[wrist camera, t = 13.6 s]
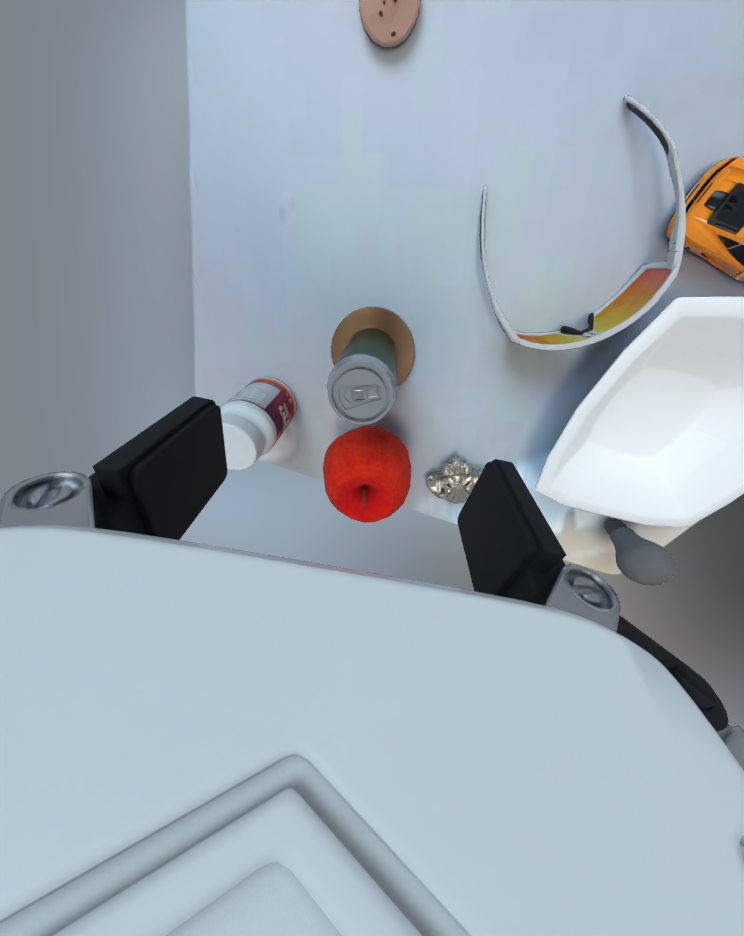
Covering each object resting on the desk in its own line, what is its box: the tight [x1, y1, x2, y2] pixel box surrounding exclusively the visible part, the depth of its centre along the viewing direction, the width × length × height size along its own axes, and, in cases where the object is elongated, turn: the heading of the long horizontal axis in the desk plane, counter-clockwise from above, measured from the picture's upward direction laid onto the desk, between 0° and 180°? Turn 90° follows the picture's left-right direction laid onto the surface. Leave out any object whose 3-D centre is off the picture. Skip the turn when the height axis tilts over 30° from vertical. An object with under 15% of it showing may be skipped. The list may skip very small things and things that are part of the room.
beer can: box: [327, 328, 397, 425], centre depth 27 cm, size 5×5×12 cm
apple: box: [323, 426, 411, 522], centre depth 33 cm, size 10×10×12 cm
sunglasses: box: [480, 95, 686, 351], centre depth 25 cm, size 14×15×5 cm
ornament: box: [426, 456, 483, 503], centre depth 39 cm, size 8×7×4 cm
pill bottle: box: [220, 377, 296, 470], centre depth 31 cm, size 6×6×11 cm
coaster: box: [331, 307, 415, 386], centre depth 32 cm, size 9×9×1 cm
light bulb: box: [605, 519, 675, 586], centre depth 39 cm, size 6×6×10 cm
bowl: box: [536, 297, 744, 527], centre depth 31 cm, size 22×23×6 cm
